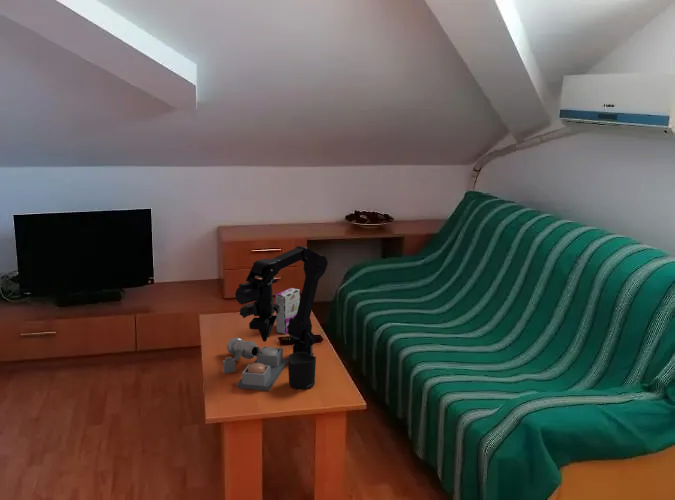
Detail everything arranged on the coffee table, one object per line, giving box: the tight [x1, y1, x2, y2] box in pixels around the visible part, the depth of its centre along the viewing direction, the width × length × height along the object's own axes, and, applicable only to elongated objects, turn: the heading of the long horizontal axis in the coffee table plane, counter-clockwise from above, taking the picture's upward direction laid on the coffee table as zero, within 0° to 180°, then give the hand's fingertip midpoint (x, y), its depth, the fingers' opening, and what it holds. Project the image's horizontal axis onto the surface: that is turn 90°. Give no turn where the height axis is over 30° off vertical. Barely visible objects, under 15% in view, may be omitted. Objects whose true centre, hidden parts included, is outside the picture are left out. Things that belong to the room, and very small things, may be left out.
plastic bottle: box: [226, 337, 261, 360], centre depth 247 cm, size 6×7×20 cm
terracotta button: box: [247, 362, 265, 374], centre depth 229 cm, size 6×6×4 cm
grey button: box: [262, 347, 278, 356], centre depth 244 cm, size 6×6×4 cm
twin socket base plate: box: [236, 346, 288, 392], centre depth 237 cm, size 11×24×6 cm, turn 169°
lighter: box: [222, 348, 243, 374], centre depth 240 cm, size 7×2×8 cm, turn 117°
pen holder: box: [287, 352, 317, 391], centre depth 229 cm, size 9×9×10 cm
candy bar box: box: [274, 287, 301, 335], centre depth 279 cm, size 11×5×16 cm, turn 149°
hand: (266, 339), depth 237 cm, fingers open, 3 cm apart
